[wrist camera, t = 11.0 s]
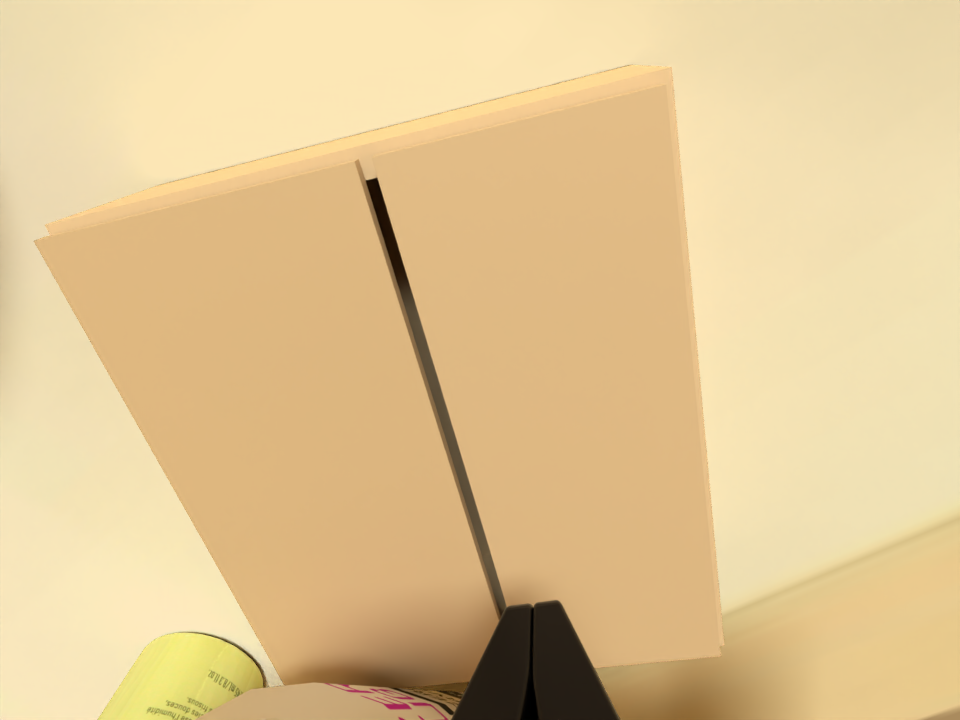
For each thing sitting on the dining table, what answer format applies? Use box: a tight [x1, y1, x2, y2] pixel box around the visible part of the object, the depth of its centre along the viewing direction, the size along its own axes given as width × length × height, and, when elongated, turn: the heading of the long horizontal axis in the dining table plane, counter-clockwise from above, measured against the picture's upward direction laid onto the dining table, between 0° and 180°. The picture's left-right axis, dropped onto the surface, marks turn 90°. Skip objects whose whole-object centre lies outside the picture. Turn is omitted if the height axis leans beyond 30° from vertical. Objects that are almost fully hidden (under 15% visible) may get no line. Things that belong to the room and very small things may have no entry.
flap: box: [371, 84, 721, 668], centre depth 13 cm, size 5×14×1 cm, turn 13°
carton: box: [34, 65, 724, 688], centre depth 16 cm, size 12×14×5 cm
